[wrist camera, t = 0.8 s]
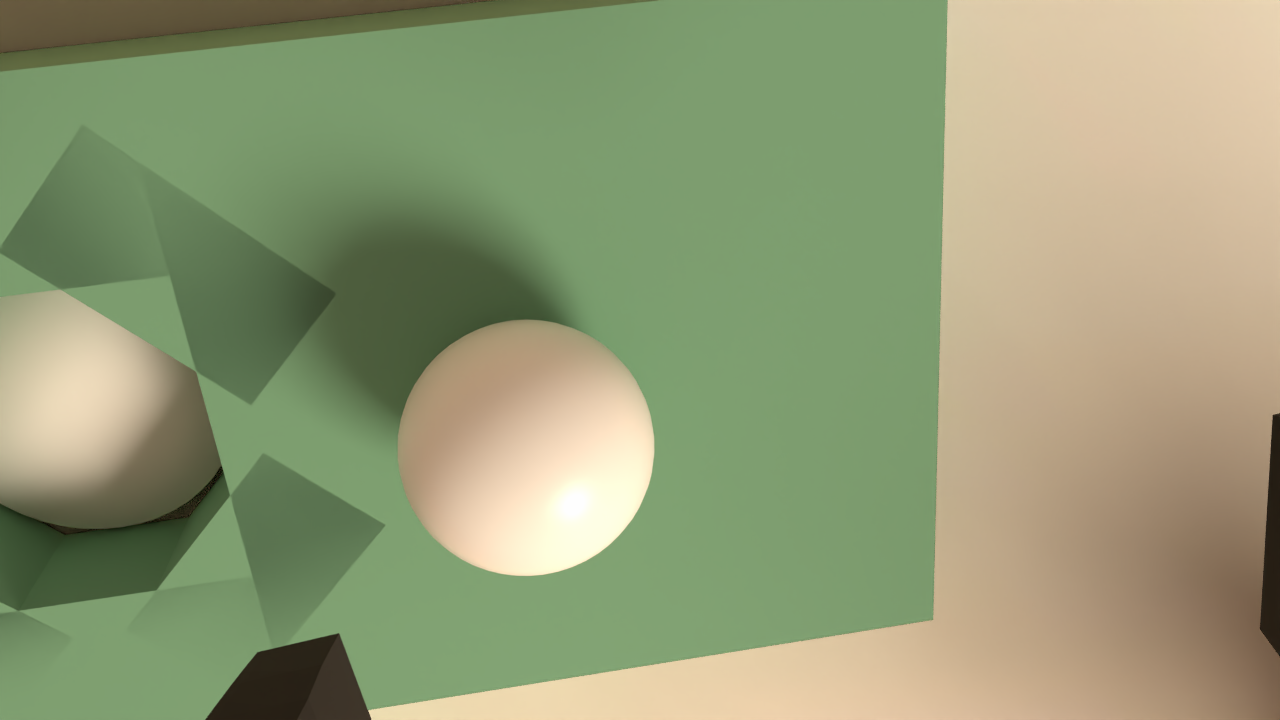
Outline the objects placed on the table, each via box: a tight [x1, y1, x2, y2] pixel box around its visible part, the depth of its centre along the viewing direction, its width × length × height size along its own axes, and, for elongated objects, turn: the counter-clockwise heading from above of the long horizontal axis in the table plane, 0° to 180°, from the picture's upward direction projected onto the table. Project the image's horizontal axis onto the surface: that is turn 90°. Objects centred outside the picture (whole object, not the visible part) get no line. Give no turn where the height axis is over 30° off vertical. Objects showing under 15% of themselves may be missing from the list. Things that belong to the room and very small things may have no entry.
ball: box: [398, 319, 654, 576], centre depth 14 cm, size 3×3×3 cm
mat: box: [0, 0, 947, 720], centre depth 16 cm, size 17×10×2 cm, turn 95°
